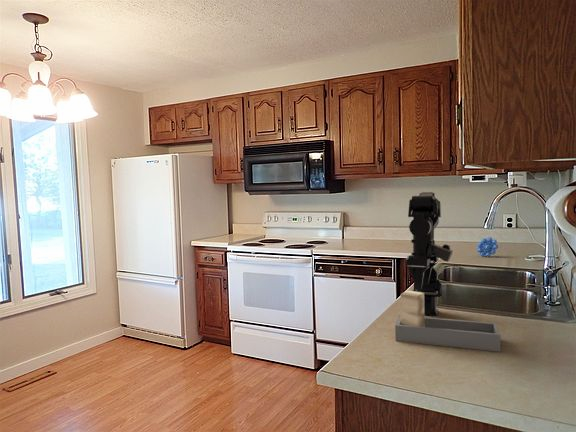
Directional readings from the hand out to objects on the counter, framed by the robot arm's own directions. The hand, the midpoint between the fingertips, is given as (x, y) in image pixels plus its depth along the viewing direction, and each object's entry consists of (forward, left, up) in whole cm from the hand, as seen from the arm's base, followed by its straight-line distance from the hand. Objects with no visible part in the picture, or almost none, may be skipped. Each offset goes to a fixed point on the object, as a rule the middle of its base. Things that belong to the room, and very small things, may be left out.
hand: (422, 286), depth 127 cm
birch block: (+8, -2, -11) cm, 14 cm away
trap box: (+7, +7, -13) cm, 17 cm away
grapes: (-140, +27, -13) cm, 143 cm away
